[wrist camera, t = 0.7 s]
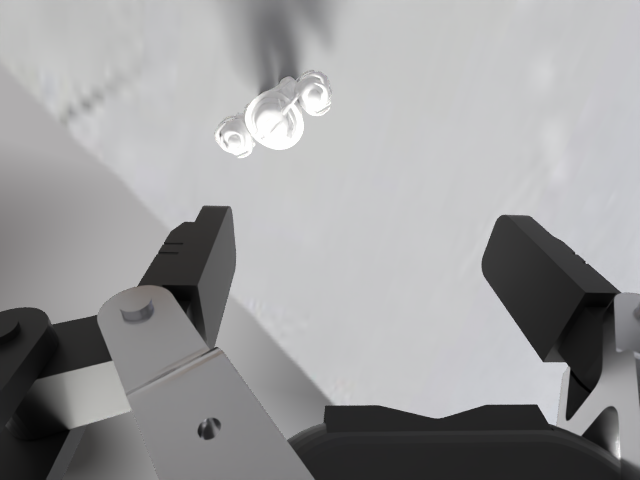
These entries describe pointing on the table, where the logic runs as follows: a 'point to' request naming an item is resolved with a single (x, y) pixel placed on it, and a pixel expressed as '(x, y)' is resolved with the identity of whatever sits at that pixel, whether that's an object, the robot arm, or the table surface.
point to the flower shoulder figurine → (275, 115)
